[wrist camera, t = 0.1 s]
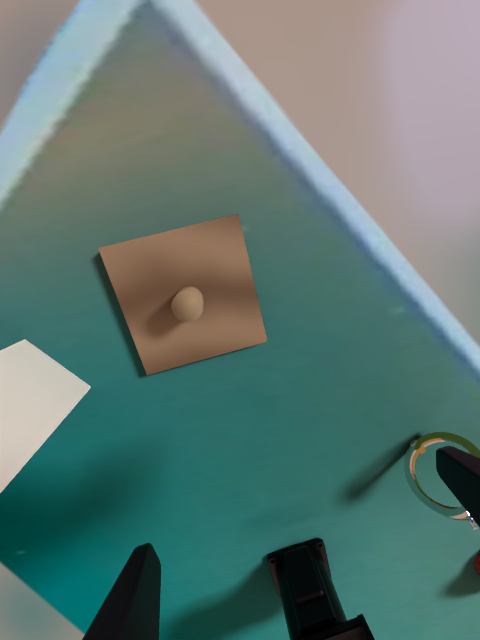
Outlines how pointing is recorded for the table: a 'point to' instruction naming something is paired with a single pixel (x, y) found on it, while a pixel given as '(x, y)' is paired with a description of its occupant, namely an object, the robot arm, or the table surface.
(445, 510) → the ring
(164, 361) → the post stand
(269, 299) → the table surface
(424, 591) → the table surface
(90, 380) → the table surface
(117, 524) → the table surface
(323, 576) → the robot arm
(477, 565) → the canned food
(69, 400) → the sleeve
